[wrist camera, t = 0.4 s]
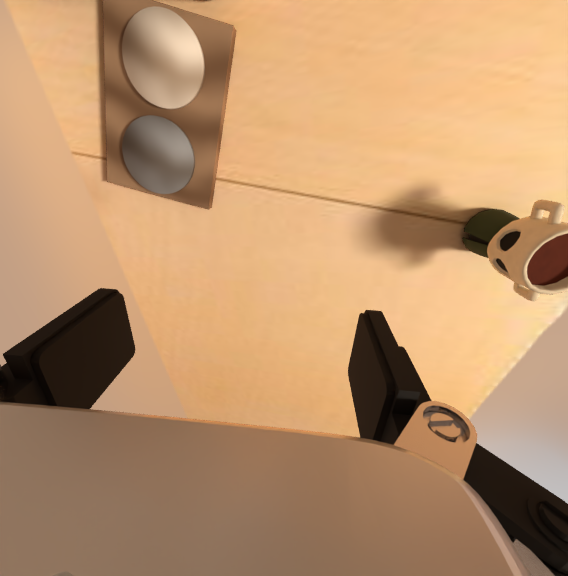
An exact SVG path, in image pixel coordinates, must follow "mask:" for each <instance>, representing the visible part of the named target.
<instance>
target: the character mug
mask: <svg viewBox="0 0 568 576" xmlns="http://www.w3.org/2000/svg"><path fill="white" fill-rule="evenodd" d="M544 210H546V211H549V212H550V214H549V218H545V217H543V213H544ZM563 213H564V205H562V204H561V203H557V202H552V201H547V200H538V201H536V202H535V203H534V205H533V208H532V212H531V216H529V217H525V218H522V219H519V218H518V217H516V216H514V215H512V214H510V213H508V212H506V211H504V210H497V209H490V210H487V211H483V212H480V213H478V214H477V215H476V216H474V217H473V218H472V219H470V221H469V222H468V224H467V225H466V227H465V228H464V232H467V233H469V234H470V235H469V239H470V240H469V239H466V238H463V242H464V244H465V247H466V248H468V249H469V250H470V251H472V252H473V253H476V254H478V255H481V256H484V257H487V258H489V261H490V263H491V264H492V266H493V267H494V269H496V270H497V271H498V272H499V273H500V274H502V275H504V276H506V277H507V278H509V279H511V280H512V281H514V291H515V292H516V293H518V294H519V295H521V296H523V297H524V298H526V299H527V300H530V301H536V300H537V299H538V298H539V295H540V294H549V295H553V294H558V293H562V292H566V291H568V223H564V222H561V220H562V216H563ZM525 287H526V288H525ZM527 288H528V289H529V290H528V289H527Z"/></svg>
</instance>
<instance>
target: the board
mask: <svg viewBox="0 0 568 576" xmlns="http://www.w3.org/2000/svg"><path fill="white" fill-rule="evenodd" d="M103 24H104V66H105V108H106V150H107V182H109V183H113V184H117V185H120V186H124V187H128V188H131V189H135V190H139V191H142V192H146V193H150V194H153V195H157V196H161V197H164V198H168V199H172V200H175V201H179V202H183V203H186V204H190V205H194V206H197V207H201V208H205V209H208V210H209V209H210V208H212V202H213V195H214V187H215V180H216V173H217V166H218V159H219V152H220V144H221V137H222V130H223V123H224V116H225V109H226V101H227V94H228V87H229V80H230V73H231V65H232V58H233V51H234V44H235V37H236V30H235V28H234V26H233V25H230V24H227V23H224V22H220V21H217V20H214V19H211V18H208V17H204V16H201V15H198V14H195V13H192V12H188V11H185V10H182V9H179V8H176V7H172V6H169V5H166V4H163V3H160V2H156V1H153V0H103Z"/></svg>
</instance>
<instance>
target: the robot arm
mask: <svg viewBox="0 0 568 576" xmlns="http://www.w3.org/2000/svg"><path fill="white" fill-rule="evenodd" d="M134 353H135V345H134V340H133V336H132V332H131V327H130V323H129V319H128V314H127V310H126V305H125V301H124V297H123V295H122V294H120V293H119V292H118V290H116V289H104V288H103V289H102V288H100V289H98V290H97V291H95V292H94V293H92V294H91V295H89V296H88V297H87V298H85V299H83V300H82V301H80V302H79V303H77V304H76V305H75V306H73V307H72V308H70V309H69V310H67V311H66V312H64V313H63V314H61V315H60V316H58V317H57V318H55V319H54V320H52V321H51V322H49V323H48V324H46V325H45V326H43V327H42V328H41V329H39V330H38V331H36V332H35V333H33V334H32V335H30V336H29V337H27V338H26V339H24V340H23V341H21V342H20V343H18V344H17V345H15V346H14V347H12V348H11V349H10V350H8V351H7V352H5V353H4V354H3V356H4V358H5V360H6V362H7V363H6V364H5V365H3V366H2V367H1V365H0V576H568V504H567V503H565V501H563V500H562V499H560V498H559V497H557V496H556V495H554V494H553V493H551V492H549V491H548V490H547V489H545V488H544V487H542V486H540V485H539V484H537V483H536V482H534V481H533V480H531V479H530V478H528V477H527V476H525V475H524V474H522V473H521V472H519V471H518V470H516V469H515V468H513V467H512V466H510V465H509V464H507V463H506V462H504V461H503V460H501V459H499V458H498V457H497V456H495V455H494V454H492V453H490V452H489V451H488V450H486V449H485V448H483V447H482V446H480V445H479V444H477V443H476V442H477V433H476V430H475V427H474V426H473V425H472V423H471V422H470V420H469V419H468V418H467V417H466V416H465V415H464V414H462V413H461V412H460V411H458V410H457V409H455V408H454V407H451V406H449V405H447V404H445V403H441V402H437V401H431V399H430V397H429V395H428V393H427V391H426V389H425V387H424V385H423V383H422V381H421V379H420V377H419V375H418V373H417V371H416V369H415V367H414V365H413V364H412V362H411V360H410V358H409V356H408V354H407V352H406V350H405V349H404V348H403V347H400V346H398V344H397V342H396V340H395V338H394V336H393V334H392V332H391V330H390V327H389V325H388V323H387V321H386V319H385V317H384V315H383V313H382V312H381V311H373V310H366V311H365V313H360V315H359V319H358V324H357V329H356V333H355V338H354V343H353V348H352V352H351V357H350V362H349V367H348V376H349V382H350V387H351V392H352V397H353V402H354V407H355V412H356V417H357V422H358V427H359V432H360V438H358V437H351V436H345V435H338V434H330V433H322V432H313V431H304V430H295V429H286V428H276V427H267V426H257V425H247V424H237V423H227V422H218V421H207V420H197V419H187V418H176V417H166V416H156V415H145V414H135V413H124V412H113V411H102V410H91V409H90V408H91V407H92V405H93V404H94V403H95V402H96V400H97V399H98V398H99V397H100V396H101V395H102V393H103V392H104V391H105V390H106V389H107V387H108V386H109V385H110V384H111V383H112V381H113V380H114V379H115V378H116V376H117V375H118V374H119V373H120V372H121V370H122V369H123V368H124V367H125V366H126V364H127V363H128V362H129V361H130V359H131V358H132V357H133V356H134Z"/></svg>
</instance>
